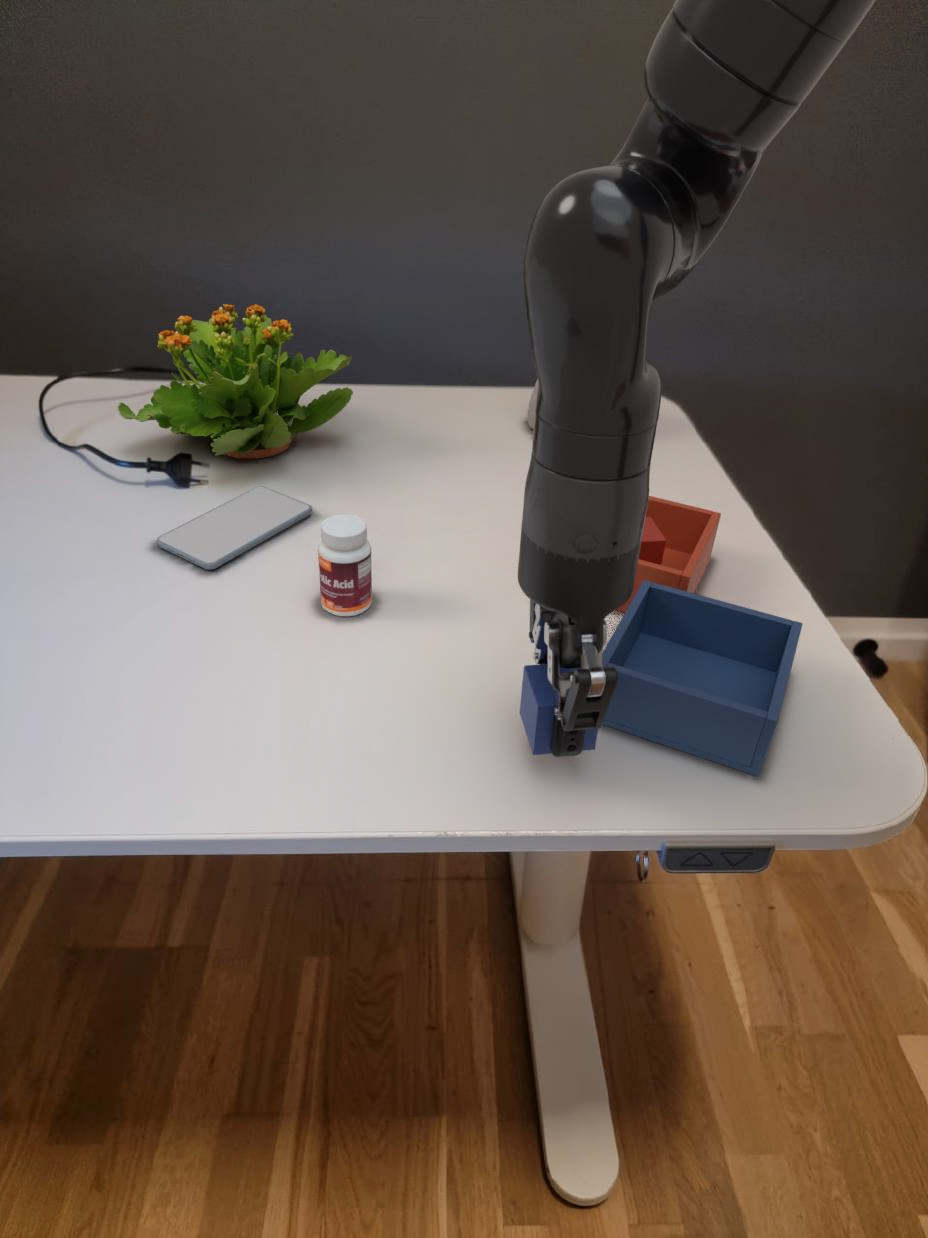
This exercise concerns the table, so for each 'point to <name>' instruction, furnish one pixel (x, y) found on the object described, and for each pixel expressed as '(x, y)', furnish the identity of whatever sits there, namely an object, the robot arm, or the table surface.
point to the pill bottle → (345, 565)
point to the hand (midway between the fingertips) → (556, 727)
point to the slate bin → (700, 675)
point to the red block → (652, 543)
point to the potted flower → (241, 385)
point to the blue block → (543, 710)
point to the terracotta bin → (678, 546)
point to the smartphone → (234, 527)
